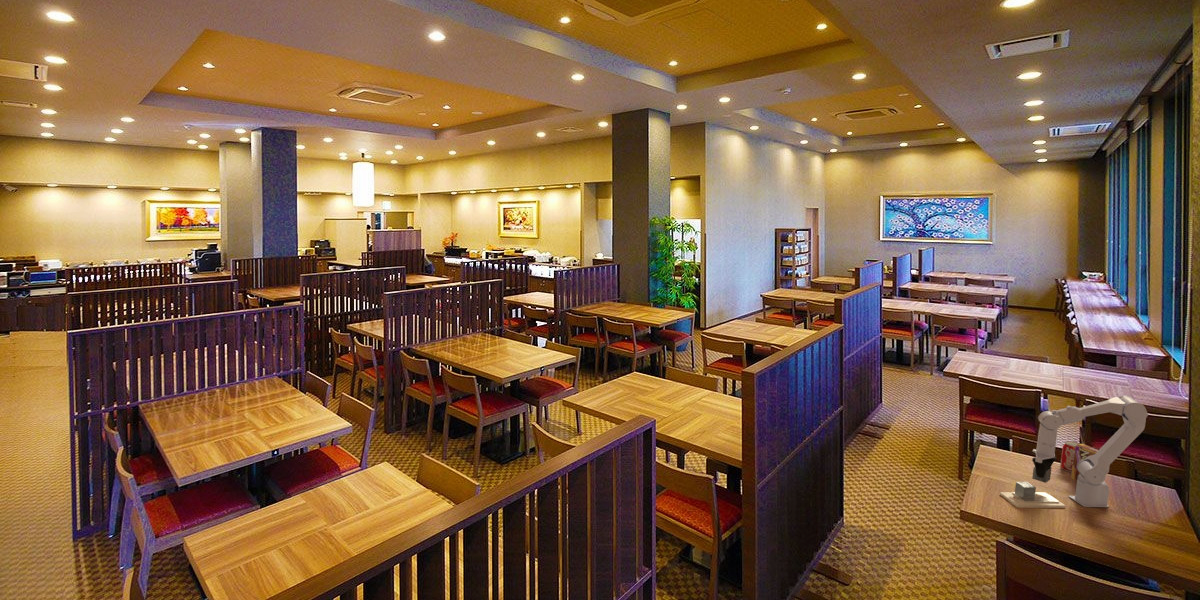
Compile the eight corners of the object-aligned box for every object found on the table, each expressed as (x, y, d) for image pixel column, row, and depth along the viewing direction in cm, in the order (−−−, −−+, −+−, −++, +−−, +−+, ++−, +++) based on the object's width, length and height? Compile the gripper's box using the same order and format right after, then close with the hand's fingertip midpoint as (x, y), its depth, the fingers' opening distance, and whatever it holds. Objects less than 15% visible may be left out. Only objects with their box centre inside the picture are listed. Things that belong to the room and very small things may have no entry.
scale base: (1045, 495, 233) (1046, 491, 233) (1065, 507, 223) (1065, 504, 223) (999, 494, 234) (1000, 491, 233) (1017, 507, 224) (1017, 504, 223)
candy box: (1100, 487, 239) (1105, 452, 237) (1091, 488, 238) (1097, 453, 236) (1078, 477, 248) (1083, 443, 245) (1070, 478, 247) (1075, 444, 244)
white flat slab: (1045, 493, 232) (1045, 492, 232) (1059, 503, 225) (1059, 501, 225) (1012, 493, 232) (1012, 492, 232) (1024, 502, 225) (1024, 501, 225)
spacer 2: (1036, 475, 236) (1038, 463, 235) (1050, 479, 232) (1051, 467, 231) (1032, 478, 233) (1033, 466, 232) (1045, 482, 229) (1047, 470, 229)
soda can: (1084, 474, 251) (1087, 447, 249) (1065, 472, 252) (1069, 446, 250) (1074, 467, 258) (1078, 441, 256) (1056, 465, 259) (1059, 439, 257)
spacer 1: (1014, 493, 231) (1016, 481, 230) (1025, 493, 231) (1027, 481, 230) (1022, 499, 226) (1024, 487, 226) (1034, 499, 227) (1035, 487, 226)
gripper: (1040, 434, 237) (1036, 466, 239) (1027, 443, 229) (1023, 476, 231) (1062, 440, 232) (1057, 472, 234) (1049, 449, 223) (1045, 483, 225)
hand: (1042, 474), depth 232 cm, fingers closed on spacer 2, 5 cm apart
